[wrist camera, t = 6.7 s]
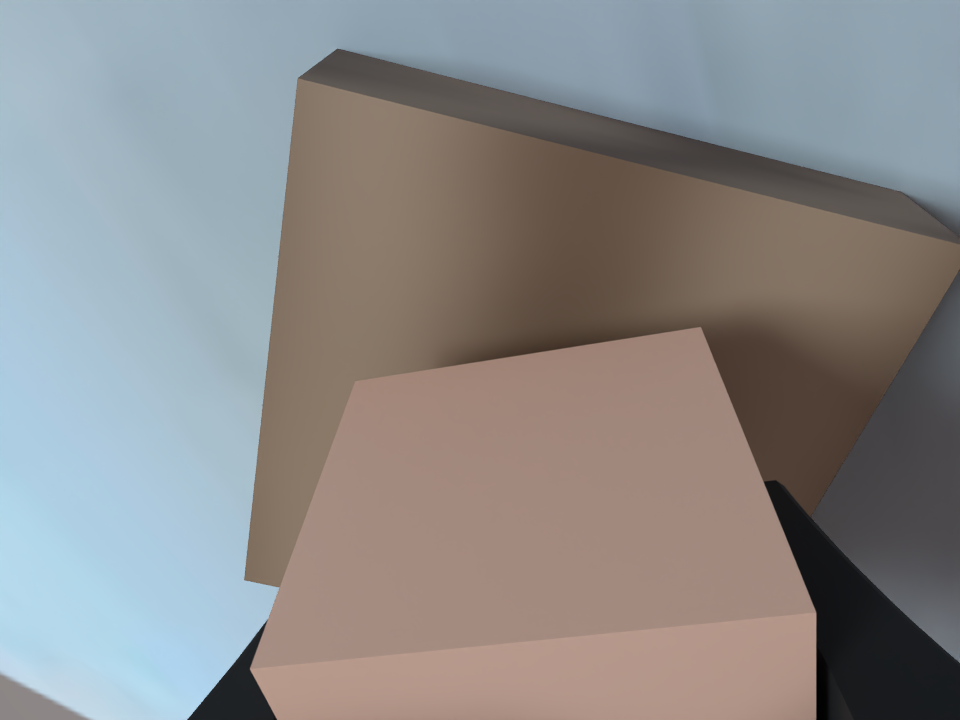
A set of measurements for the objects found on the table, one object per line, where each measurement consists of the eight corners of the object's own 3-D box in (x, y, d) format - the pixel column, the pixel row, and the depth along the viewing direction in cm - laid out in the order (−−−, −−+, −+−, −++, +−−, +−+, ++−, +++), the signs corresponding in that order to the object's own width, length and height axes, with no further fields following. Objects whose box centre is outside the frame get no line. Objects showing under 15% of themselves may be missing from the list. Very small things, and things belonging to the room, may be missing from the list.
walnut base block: (890, 184, 14) (972, 247, 11) (689, 571, 19) (714, 676, 16) (343, 43, 13) (297, 78, 11) (284, 485, 18) (244, 580, 16)
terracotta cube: (700, 327, 11) (815, 611, 6) (722, 583, 13) (816, 916, 9) (355, 381, 11) (249, 669, 7) (435, 615, 14) (393, 934, 10)
